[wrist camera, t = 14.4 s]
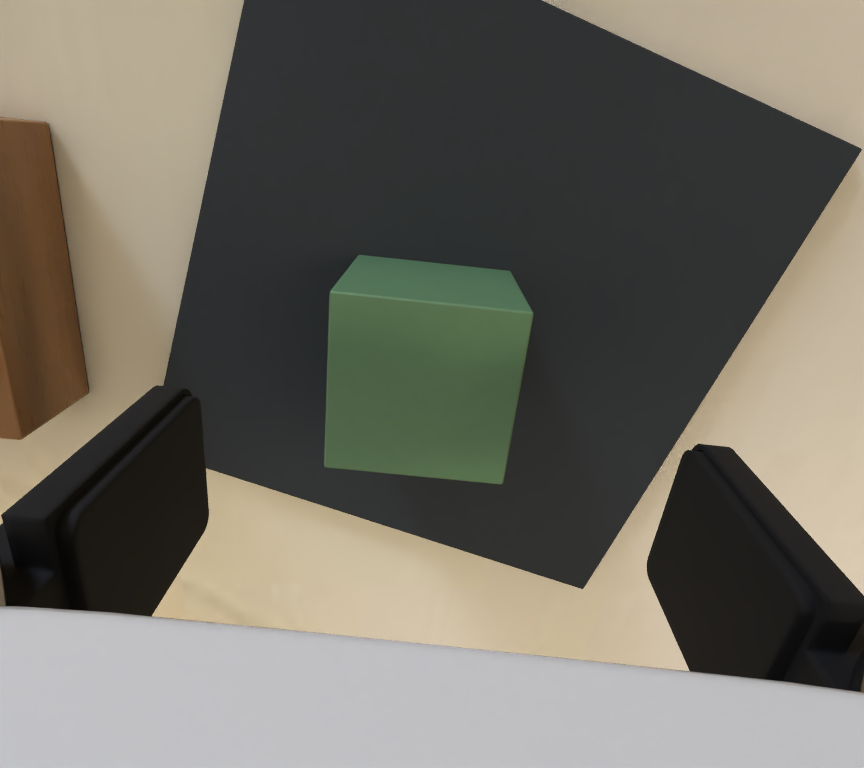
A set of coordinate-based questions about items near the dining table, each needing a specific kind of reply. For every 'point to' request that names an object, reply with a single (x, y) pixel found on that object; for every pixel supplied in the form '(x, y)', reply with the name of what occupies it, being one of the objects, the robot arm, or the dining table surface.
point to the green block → (424, 369)
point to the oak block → (34, 287)
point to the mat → (487, 248)
